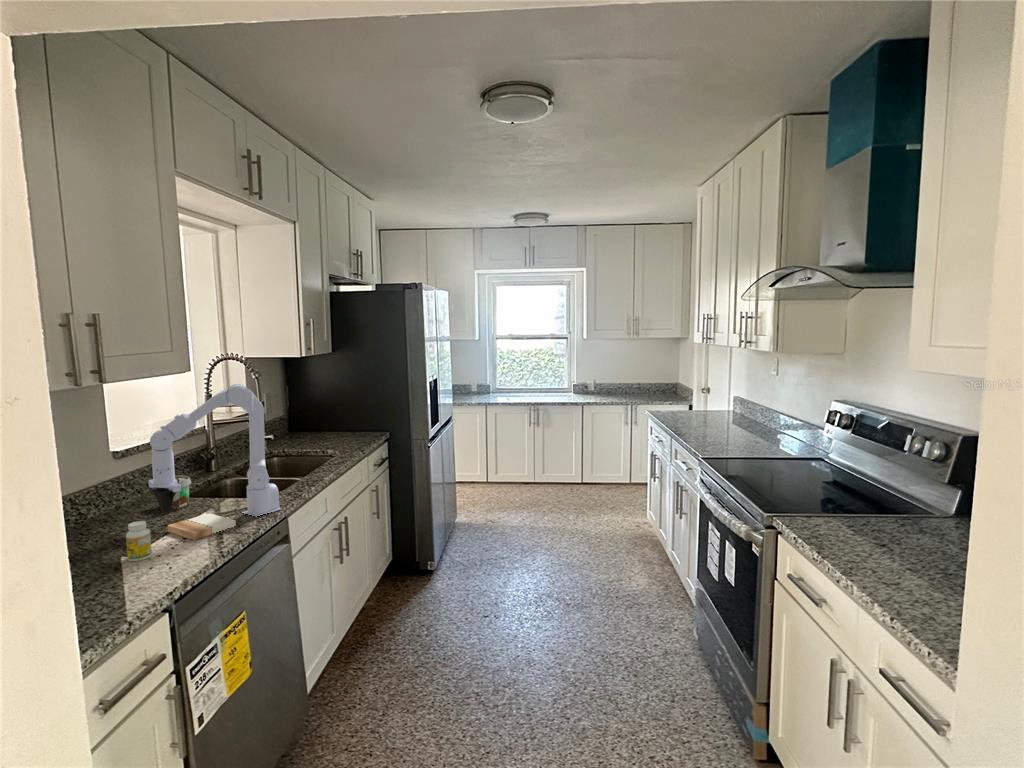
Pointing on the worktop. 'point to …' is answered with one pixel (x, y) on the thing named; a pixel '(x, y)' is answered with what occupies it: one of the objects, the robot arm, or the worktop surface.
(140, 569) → the worktop surface
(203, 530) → the tan flat block
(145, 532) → the supplement bottle
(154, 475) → the robot arm
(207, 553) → the worktop surface
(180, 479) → the food container
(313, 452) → the worktop surface
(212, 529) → the board
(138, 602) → the worktop surface
